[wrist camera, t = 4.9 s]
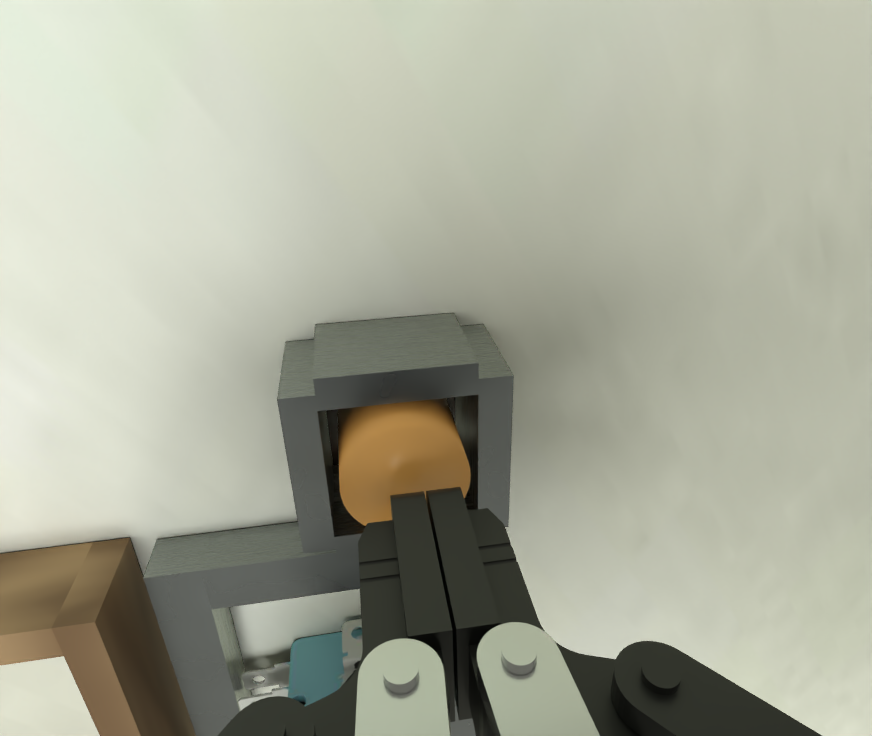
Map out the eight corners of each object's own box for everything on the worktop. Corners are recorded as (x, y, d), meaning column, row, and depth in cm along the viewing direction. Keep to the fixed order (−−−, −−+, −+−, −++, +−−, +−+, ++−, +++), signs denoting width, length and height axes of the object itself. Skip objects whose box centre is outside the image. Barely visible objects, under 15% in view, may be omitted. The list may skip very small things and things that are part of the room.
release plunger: (446, 360, 16) (470, 419, 13) (448, 454, 17) (470, 525, 15) (331, 371, 16) (332, 435, 13) (343, 466, 17) (346, 541, 14)
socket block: (478, 499, 19) (490, 532, 18) (477, 729, 24) (486, 767, 23) (156, 539, 18) (143, 578, 16) (229, 773, 23) (223, 816, 22)
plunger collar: (483, 310, 16) (514, 359, 14) (481, 470, 19) (507, 538, 16) (283, 327, 15) (274, 382, 13) (308, 490, 18) (305, 565, 15)
